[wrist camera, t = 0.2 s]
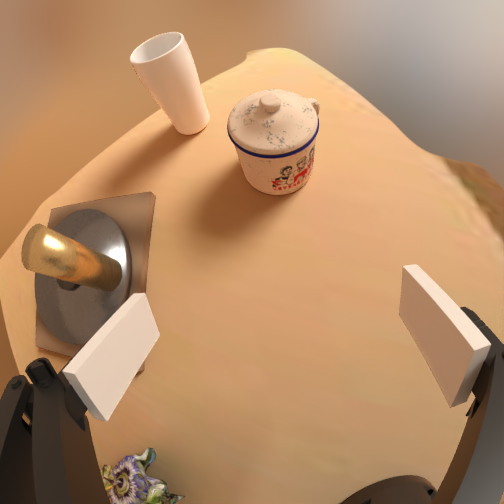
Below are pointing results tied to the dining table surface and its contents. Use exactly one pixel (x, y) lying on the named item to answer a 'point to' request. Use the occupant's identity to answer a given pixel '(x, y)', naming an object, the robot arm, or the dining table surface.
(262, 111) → the teacup with lid
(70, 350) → the base plate
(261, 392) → the dining table surface
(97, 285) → the handwheel
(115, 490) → the passion flower
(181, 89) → the drinking glass
